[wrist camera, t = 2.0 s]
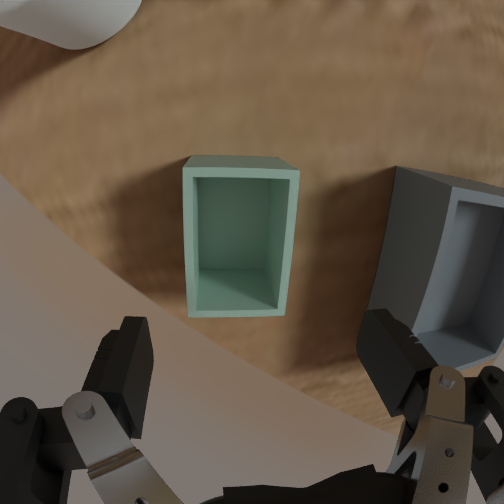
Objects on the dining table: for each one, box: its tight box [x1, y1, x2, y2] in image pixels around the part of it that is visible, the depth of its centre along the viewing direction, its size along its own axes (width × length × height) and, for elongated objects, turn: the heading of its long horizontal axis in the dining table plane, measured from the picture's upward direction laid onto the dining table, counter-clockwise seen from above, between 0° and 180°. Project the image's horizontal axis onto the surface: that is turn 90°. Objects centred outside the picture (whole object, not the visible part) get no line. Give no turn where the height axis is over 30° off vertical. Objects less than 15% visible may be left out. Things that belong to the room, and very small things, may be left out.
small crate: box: [183, 155, 300, 317], centre depth 20 cm, size 9×6×6 cm, turn 177°
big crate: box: [366, 166, 504, 371], centre depth 23 cm, size 18×17×7 cm
